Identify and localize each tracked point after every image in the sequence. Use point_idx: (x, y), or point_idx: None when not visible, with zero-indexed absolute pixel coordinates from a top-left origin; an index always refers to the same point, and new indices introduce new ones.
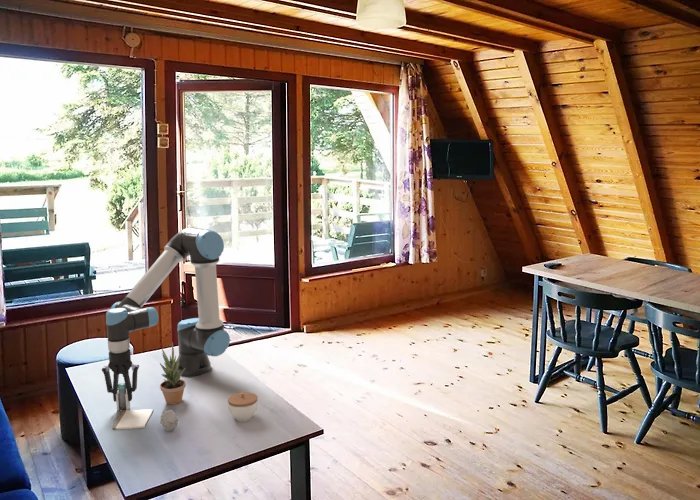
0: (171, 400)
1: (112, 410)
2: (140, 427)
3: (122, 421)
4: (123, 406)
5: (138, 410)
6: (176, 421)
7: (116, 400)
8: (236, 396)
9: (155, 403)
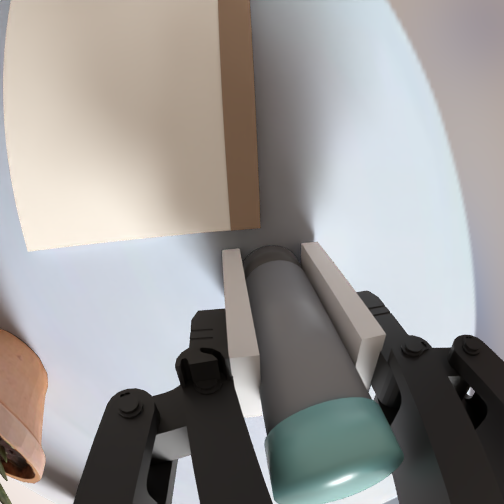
0: None
1: (352, 253)
2: None
3: (189, 6)
4: (268, 264)
5: (119, 226)
6: None
7: (350, 289)
8: None
9: (80, 348)
